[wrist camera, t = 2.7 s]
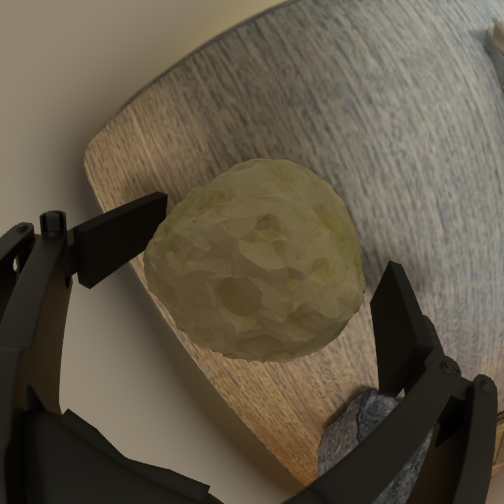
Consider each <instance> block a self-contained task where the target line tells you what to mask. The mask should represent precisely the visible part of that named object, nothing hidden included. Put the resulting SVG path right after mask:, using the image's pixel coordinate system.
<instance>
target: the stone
mask: <svg viewBox="0 0 504 504" xmlns="http://www.w3.org/2000/svg"><path fill="white" fill-rule="evenodd" d="M399 402H400V401H399V400H397V399H395V398H393V397H390V396H386V395H381V394H379V392H378V391H376V390H371V391H367V392H366V393H362V394H360V395H359V396H358V398H356V399H355V400H353V401H352V402H350V403H349V404H348V407H347V410H346V411H345V412H344V413H343V414H342V415H341V416H340V417H339V418H337V420H336V421H335V422H334V423H333V424H332V425H330V426H329V427H328V428H326V429H325V431H324V432H323V433H322V437H321V442H320V445H319V446H318V473H317V474H318V477H320V476H321V475H322V474H323V473H325V472H326V471H327V470H329V469H330V468H331V467H332V466H333V465H335V464H336V463H337V462H338V461H340V460H341V459H342V458H343V457H344V456H345V455H347V454H348V453H349V452H350V451H351V450H352V449H353V448H354V447H356V446H357V445H358V444H359V443H360V442H361V441H362V440H363V439H364V438H365V437H366V436H367V435H368V434H369V433H370V432H371V431H372V430H373V429H374V428H375V427H376V426H377V425H378V424H379V423H380V422H381V421H382V420H383V419H384V418H385V417H386V416H387V415H388V414H389V413H390V412H391V411H392V409H393V408H394V407H395V406H396V405H397V404H398V403H399ZM434 428H435V424H434V425H433V427H432V428H431V430H430V431H429V433H428V434H427V436H426V437H425V439H424V440H423V442H422V443H421V445H420V446H419V448H418V449H417V450H416V452H415V453H414V454H413V456H412V457H411V458H410V460H409V461H408V462H407V464H406V465H405V466H404V468H403V469H402V470H401V471H400V472H399V474H398V475H397V476H396V477H395V479H394V480H393V481H392V482H391V483H390V484H389V486H388V487H387V488H386V489H385V490H384V491H383V492H382V493H381V494H380V496H379V497H378V498H377V499H376V500H375V501H374V502H373V503H372V504H405V503H406V501H407V499H408V497H409V495H410V493H411V491H412V488H413V486H414V484H415V481H416V479H417V477H418V474H419V472H420V469H421V466H422V464H423V461H424V458H425V456H426V453H427V450H428V447H429V444H430V441H431V438H432V434H433V431H434Z"/></svg>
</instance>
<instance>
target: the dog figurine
mask: <svg viewBox="0 0 504 504" xmlns="http://www.w3.org/2000/svg"><path fill="white" fill-rule="evenodd" d="M492 18H493V21H494V22H495V24H494V27H488V29H487V33H488V34H487V35H489V36H490V38H491V41H492V43H493V45H494V47H495V48H496V49H497V50H498V51H499V52H500V53H501V54H502V55H503V56H504V22H502V21H500V20H499V19H497V18H495V17H492ZM502 89H503V90H504V86H502Z"/></svg>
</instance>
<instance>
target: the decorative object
mask: <svg viewBox="0 0 504 504" xmlns="http://www.w3.org/2000/svg"><path fill="white" fill-rule="evenodd" d="M143 261H144V270H145V276H146V279H147V282H148V289H149V291H150V292H152V293H153V294H154V295H156V296H157V298H158V299H159V301H160V302H161V303H162V304H163V305H164V306H165V307H166V308H167V310H168V311H169V313H170V314H171V316H172V317H173V319H174V321H175V323H176V326H177V329H178V330H180V331H183V332H185V333H186V334H187V335H188V337H189V338H190V339H191V341H192V342H193V343H194V344H197V345H199V346H201V347H203V348H206V349H210V350H212V352H218V353H222V354H223V357H226V358H231V359H245V360H247V361H248V362H250V361H259V362H262V363H264V362H265V361H268V362H282V363H285V362H289V361H292V360H294V359H296V358H298V357H302V356H304V355H310V354H311V353H313V352H317V351H319V350H321V349H323V348H324V347H325V346H326V345H327V344H329V343H330V342H332V341H333V340H334V339H335V338H336V337H338V336H339V335H340V333H341V332H342V330H343V329H344V327H345V326H346V325H347V323H348V321H349V320H350V319H351V318H352V316H353V314H354V313H356V312H358V310H359V308H360V306H361V304H362V301H363V298H364V296H363V293H364V292H365V290H366V287H367V286H366V282H365V277H364V274H363V268H362V262H361V251H360V243H359V240H358V238H357V233H356V229H355V227H354V225H353V223H352V220H351V218H350V216H349V214H348V211H347V208H346V205H345V203H344V201H343V199H342V198H341V197H340V196H338V195H337V194H336V193H335V191H334V189H333V186H332V185H331V184H329V183H328V182H326V181H325V180H323V179H322V178H319V177H318V176H317V175H316V174H314V173H313V172H312V171H311V170H310V169H308V168H305V167H303V166H301V165H299V164H296V163H295V162H293V161H291V160H285V159H278V160H269V159H265V158H263V159H261V158H255V159H250V160H248V161H246V162H244V163H238V164H235V165H233V166H232V167H231V168H229V169H228V170H226V171H225V172H223V173H221V174H220V175H218V176H216V177H214V178H213V179H212V180H211V181H210V182H209V183H208V184H207V185H205V186H202V187H199V186H196V187H193V188H192V189H191V190H190V191H189V192H188V194H187V195H186V196H185V197H184V198H183V200H182V202H181V203H178V204H177V205H176V206H175V208H174V209H173V210H172V211H171V213H170V214H169V215H168V216H167V218H166V219H165V220H164V221H163V222H162V223H161V224H160V225H159V226H158V229H157V230H156V232H155V233H154V236H153V238H152V239H151V240H150V241H149V243H148V245H147V247H146V250H145V253H144V257H143Z"/></svg>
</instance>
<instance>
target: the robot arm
mask: <svg viewBox="0 0 504 504" xmlns="http://www.w3.org/2000/svg"><path fill="white" fill-rule="evenodd" d="M167 198H168V194H165V193H161V192H155V193H152V194H149V195H147V196H144V197H142V198H139V199H137V200H134V201H132V202H130V203H127V204H125V205H122V206H120V207H118V208H115V209H113V210H111V211H108V212H106V213H104V214H101V215H99V216H97V217H95V218H93V219H90V220H88V221H86V222H84V223H82V224H80V225H77V226H75V227H73V228H72V229H70V230H68V231H67V228H66V213H65V212H63V211H56V210H55V211H48V212H45V213H43V214H41V215H40V225H41V235H39V234H34V226H33V224H32V223H25V222H23V223H19V224H17V225H15V226H14V227H12V228H11V229H10V230H9V231H7V233H5V234H4V235H3V236H2V237H1V238H0V504H224V503H222V502H221V501H220V500H219V499H217V498H216V497H214V496H213V495H211V494H210V493H208V491H209V488H210V486H209V485H206V484H203V483H201V482H198V481H196V480H193V479H191V478H188V477H186V476H183V475H181V474H179V473H176V472H174V471H172V470H170V469H165V468H161V467H157V466H153V465H149V464H145V463H141V462H138V461H135V460H131V459H128V458H126V457H124V456H123V455H122V454H121V453H120V452H119V451H118V450H117V449H116V448H115V447H114V446H113V445H112V444H111V443H110V442H109V441H108V440H107V439H106V438H105V437H104V436H103V435H102V434H101V433H100V432H99V431H98V430H97V429H96V428H95V427H93V426H92V425H90V424H89V423H87V422H86V421H84V420H83V419H82V418H80V417H79V416H78V415H76V414H75V413H74V412H72V411H71V410H70V409H67V410H66V411H65V413H64V414H62V413H61V409H60V405H59V384H60V367H61V356H62V345H63V338H64V329H65V323H66V317H67V311H68V305H69V299H70V294H71V289H72V284H73V280H72V275H73V274H75V273H76V272H77V274H78V281H79V283H80V284H81V285H83V286H85V287H87V288H89V289H91V288H92V287H94V286H95V285H96V284H98V283H99V282H100V281H102V280H103V279H104V278H106V277H107V276H109V275H110V274H111V273H113V272H114V271H116V270H117V269H118V268H120V267H121V266H123V265H124V264H125V263H127V262H128V261H130V260H131V259H133V258H134V257H136V256H137V255H139V254H140V253H141V252H143V251H144V250H146V247H147V245H148V243H149V241H150V240H151V239H152V238H153V236H154V233H155V232H156V230H157V229H158V226H159V225H160V224H161V223H162V222H163V221H164V220H165V219H166V208H167ZM14 259H16V264H17V269H16V270H15V271H14V268H13V262H14ZM370 307H371V314H372V321H373V329H374V337H375V346H376V355H377V366H378V379H379V394H381V395H386V396H391V397H396V396H397V395H398V394H399V393H400V392H401V390H402V389H403V388H404V392H405V396H404V397H403V399H402V400H401V401H400V402H399V403H398V404H397V405H396V406H395V407H394V408H393V409H392V411H391V412H390V413H389V414H388V415H387V416H386V417H385V418H384V419H383V420H382V421H381V422H380V423H379V424H378V425H377V426H376V427H375V428H374V429H373V430H372V431H371V432H370V433H369V434H368V435H367V436H366V437H365V438H364V439H363V440H362V441H361V442H360V443H359V444H358V445H357V446H356V447H354V448H353V449H352V450H351V451H350V452H349V453H348V454H347V455H345V456H344V457H343V458H342V459H341V460H340V461H338V462H337V463H336V464H335V465H333V466H332V467H331V468H330V469H329V470H327V471H326V472H325V473H323V474H322V475H321V476H320V477H318V478H317V479H316V480H314V481H313V482H311V483H310V484H309V485H307V486H306V487H305V488H303V489H302V490H300V491H299V492H297V493H296V494H295V495H293V496H291V497H290V498H288V499H287V500H285V501H284V502H282V503H281V504H372V503H373V502H374V501H375V500H376V499H377V498H378V497H379V496H380V494H381V493H382V492H383V491H384V490H385V489H386V488H387V487H388V486H389V484H390V483H391V482H392V481H393V480H394V479H395V477H396V476H397V475H398V474H399V472H400V471H401V470H402V469H403V468H404V466H405V465H406V464H407V462H408V461H409V460H410V458H411V457H412V456H413V454H414V453H415V452H416V450H417V449H418V448H419V446H420V445H421V443H422V442H423V440H424V439H425V437H426V436H427V434H428V433H429V431H430V430H431V428H432V427H433V425H434V424H435V423H436V424H435V428H434V431H433V434H432V438H431V441H430V444H429V447H428V450H427V453H426V456H425V458H424V461H423V464H422V466H421V469H420V472H419V474H418V477H417V479H416V481H415V484H414V486H413V488H412V491H411V493H410V495H409V497H408V499H407V501H406V503H405V504H485V501H486V497H487V493H488V488H489V484H490V478H491V473H492V467H493V460H494V452H495V443H496V431H497V406H498V394H497V387H496V385H495V383H494V381H492V379H491V378H489V377H488V376H486V375H484V374H479V375H477V376H476V377H475V379H474V380H473V381H472V382H471V381H469V380H467V379H465V378H463V377H461V370H460V368H459V366H458V364H457V363H456V362H455V361H454V360H453V359H451V358H450V357H448V356H445V355H444V352H443V349H442V346H441V343H440V340H439V339H438V335H437V333H436V330H435V327H434V325H433V323H432V322H431V320H430V319H429V318H428V317H427V316H425V315H422V312H421V309H420V307H419V304H418V302H417V299H416V297H415V294H414V292H413V290H412V287H411V285H410V283H409V280H408V278H407V276H406V273H405V271H404V269H403V267H402V265H401V264H398V263H395V262H392V261H389V262H388V265H387V267H386V269H385V272H384V274H383V276H382V278H381V280H380V283H379V285H378V287H377V289H376V291H375V293H374V295H373V298H372V300H371V302H370Z"/></svg>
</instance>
